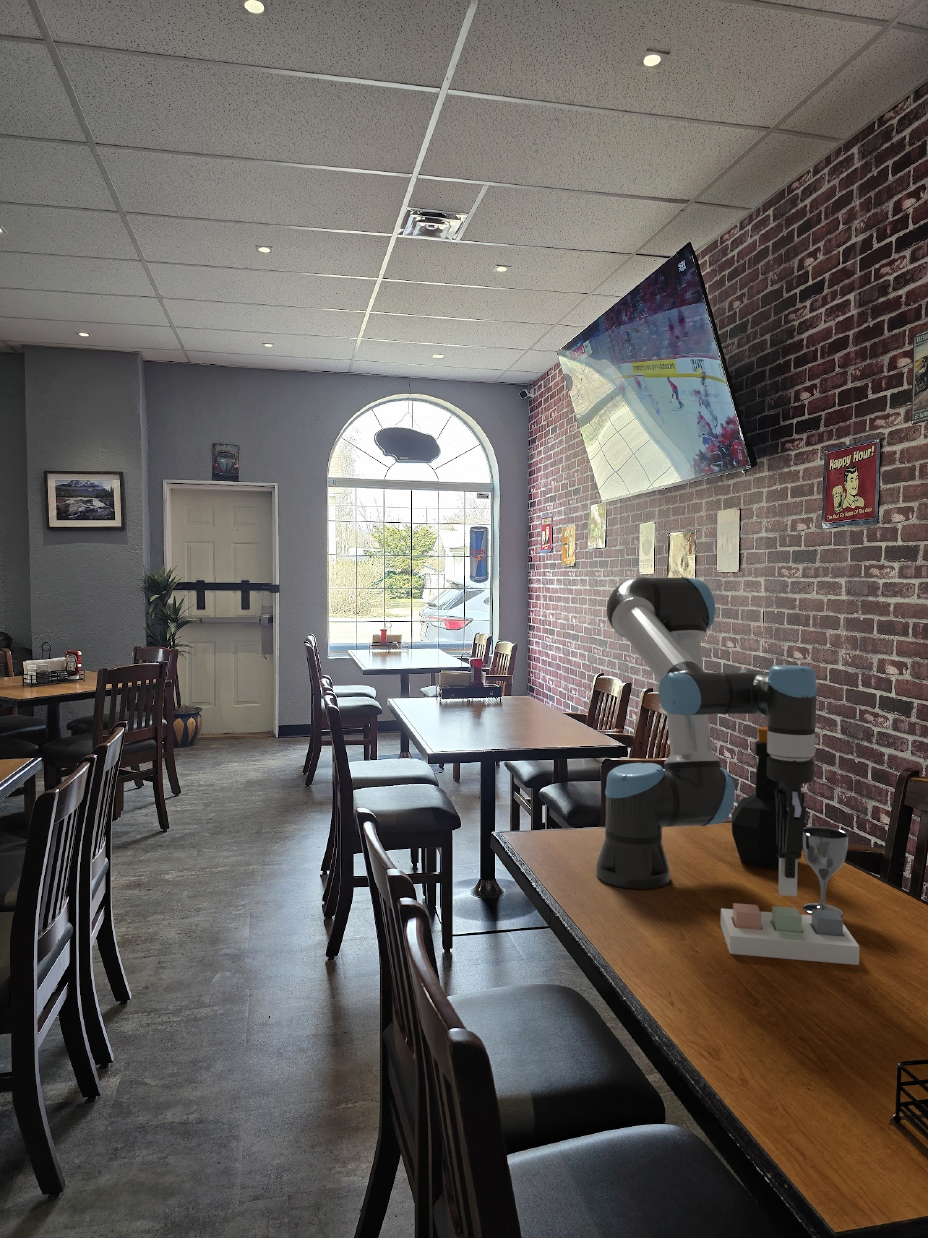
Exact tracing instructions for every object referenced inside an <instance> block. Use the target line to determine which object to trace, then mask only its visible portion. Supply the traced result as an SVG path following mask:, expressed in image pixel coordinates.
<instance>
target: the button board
mask: <svg viewBox="0 0 928 1238" xmlns="http://www.w3.org/2000/svg"><path fill="white" fill-rule="evenodd" d="M760 912H761V930H758V929H746V928H735V926H734V923H733V908H731V909H730V908H720V927H721V930H722V934H723V936H724V939H725V943H726V945H727V950H728V952H729V954H730V955H737V956H738V955H739V956H740V955H741V956H750V957H752V956H753V957H764V958H775V959H783V960H784V959H785V960H797V961H807V962H808V961H810V962H818V963H819V962H821V963H830V964H842V965H843V964H844V965H854V966H860V945H859V944H858V942H857V941H856V939H855V938H854V937H853V936H852V934H851V933H850V931H849V930H848V928H847V926H846V925H845V924H844V923H843V936H831V935H819V934H815V932H814V930H813V929H812V927H811V923H812V915H811V914H800V915H801V916H802V931H801V933H795V932H782V931H775V930H774V928H773V926H772V911H760Z"/></svg>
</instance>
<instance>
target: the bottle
mask: <svg viewBox="0 0 928 1238" xmlns="http://www.w3.org/2000/svg"><path fill="white" fill-rule="evenodd" d="M767 730H768V726H757V737H758V740H756V741H755V744H754V748H755V749H754V750H755V751H754V753H755V756H756V757H758V758H757V764H756V767H755V774H754V775H755V780H754V781H755V782H754V794H751V795H748V796H746V797H744V798H740V801H739V802H738V803H737V805H736V806H735V808H734V809H733V810H732V811H731V813H730V814H731V815H730V816H731V818H730V819H731V835H732V837H733V838H732V839H733V841H734V844H735V847H736V850H737V854H738V857H739V860H740V862H743V863H745V864H747V865H749V866H752V867H755V868H757V869H763V870H764V869H765V870H778V871H779V858H778V856H777V853H779V851H778V848H779V847H778V846H777V844H776V841H777V834H776V800H775V794H774V791H775V789H776V788H779V782H778V781H774V780H771V779H769V778H768V777H767V758H768V756H770V755H771V754H769V753H768V752H767ZM805 827H808V826H807V825H806V821H804V828H805ZM802 850H803V847H802ZM798 860H799V858H798Z"/></svg>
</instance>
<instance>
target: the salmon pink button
mask: <svg viewBox="0 0 928 1238" xmlns="http://www.w3.org/2000/svg"><path fill="white" fill-rule="evenodd" d="M732 909H733V923H734V926H735V928H746V929H758V930H761V912H762V911H760V908H759V906H758V904H750V903H749V904H748V903H746V904H745V903H736V902H735V903H732Z"/></svg>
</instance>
